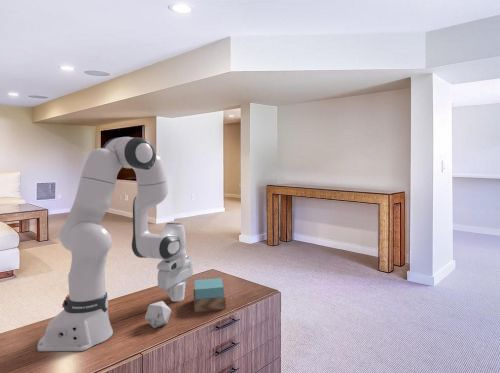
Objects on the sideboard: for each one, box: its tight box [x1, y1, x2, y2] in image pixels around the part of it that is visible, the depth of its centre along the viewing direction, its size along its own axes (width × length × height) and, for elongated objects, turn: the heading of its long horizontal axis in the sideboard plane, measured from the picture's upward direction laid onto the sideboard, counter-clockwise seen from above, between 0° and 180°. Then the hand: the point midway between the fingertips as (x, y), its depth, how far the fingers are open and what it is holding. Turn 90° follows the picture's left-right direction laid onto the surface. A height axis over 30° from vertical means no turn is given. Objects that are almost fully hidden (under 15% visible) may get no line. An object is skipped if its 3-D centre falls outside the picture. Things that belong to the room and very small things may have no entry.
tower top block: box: [194, 277, 225, 300], centre depth 145 cm, size 11×11×4 cm
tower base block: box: [193, 288, 227, 313], centre depth 146 cm, size 12×12×5 cm
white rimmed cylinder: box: [169, 281, 186, 302], centre depth 152 cm, size 7×7×7 cm
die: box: [144, 300, 172, 329], centre depth 129 cm, size 8×9×10 cm
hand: (177, 292), depth 152 cm, fingers open, 7 cm apart
